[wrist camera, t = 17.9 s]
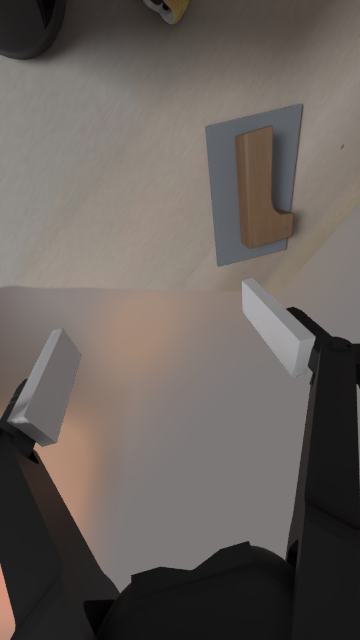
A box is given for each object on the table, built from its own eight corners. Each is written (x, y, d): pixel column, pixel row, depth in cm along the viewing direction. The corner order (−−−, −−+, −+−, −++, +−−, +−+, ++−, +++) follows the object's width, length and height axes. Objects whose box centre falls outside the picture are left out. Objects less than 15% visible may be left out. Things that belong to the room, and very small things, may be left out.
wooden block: (280, 231, 46) (286, 120, 35) (292, 237, 42) (303, 115, 31) (240, 243, 46) (233, 136, 35) (249, 250, 42) (245, 132, 31)
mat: (205, 126, 34) (206, 126, 34) (300, 104, 34) (302, 103, 34) (217, 265, 48) (218, 266, 48) (284, 248, 49) (285, 249, 48)
